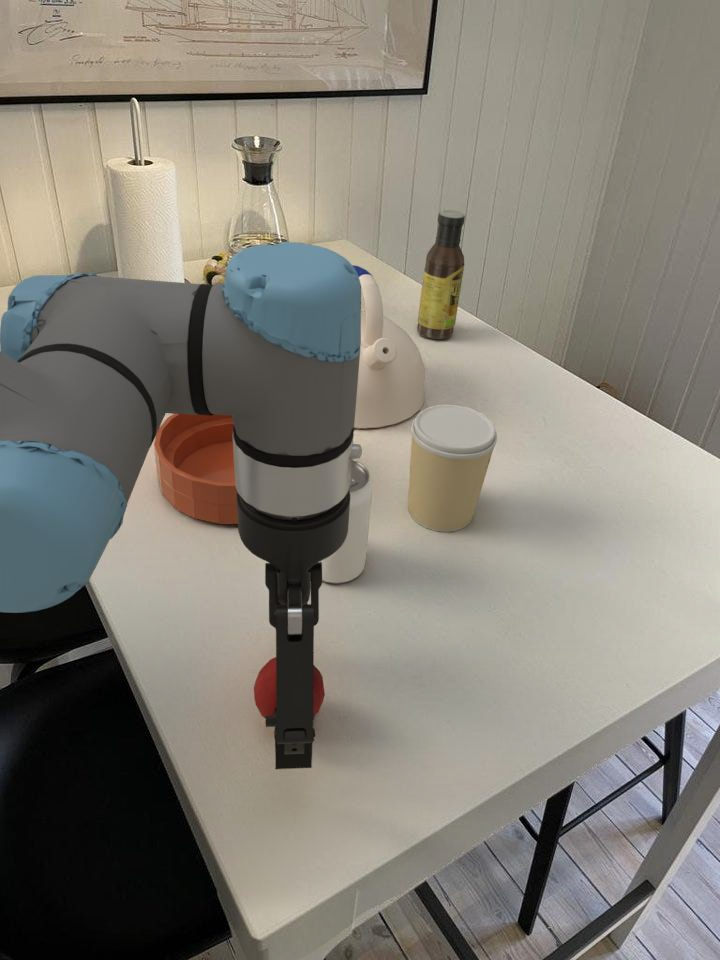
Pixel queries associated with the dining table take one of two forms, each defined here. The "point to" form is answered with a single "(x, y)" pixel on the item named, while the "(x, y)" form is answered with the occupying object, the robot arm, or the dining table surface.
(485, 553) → the dining table surface
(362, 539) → the can
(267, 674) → the onion
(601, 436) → the dining table surface
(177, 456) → the bowl
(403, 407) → the kettle
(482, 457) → the coffee cup
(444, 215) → the sauce bottle
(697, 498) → the dining table surface
